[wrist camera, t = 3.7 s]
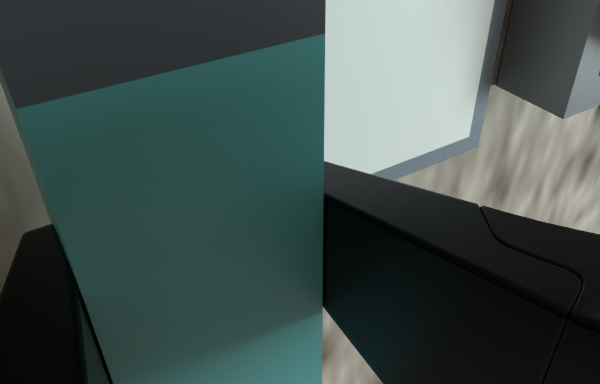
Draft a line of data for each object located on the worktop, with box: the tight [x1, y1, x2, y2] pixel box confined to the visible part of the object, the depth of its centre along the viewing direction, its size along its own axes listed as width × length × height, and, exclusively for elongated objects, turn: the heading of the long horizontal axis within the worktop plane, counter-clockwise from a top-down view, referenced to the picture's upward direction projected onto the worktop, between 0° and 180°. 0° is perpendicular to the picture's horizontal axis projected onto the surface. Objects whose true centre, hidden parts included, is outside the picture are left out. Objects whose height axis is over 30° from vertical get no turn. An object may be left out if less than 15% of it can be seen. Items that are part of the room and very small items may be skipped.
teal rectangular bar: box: [0, 0, 326, 384], centre depth 8 cm, size 3×10×3 cm, turn 1°
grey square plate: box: [324, 0, 508, 180], centre depth 13 cm, size 8×8×1 cm
